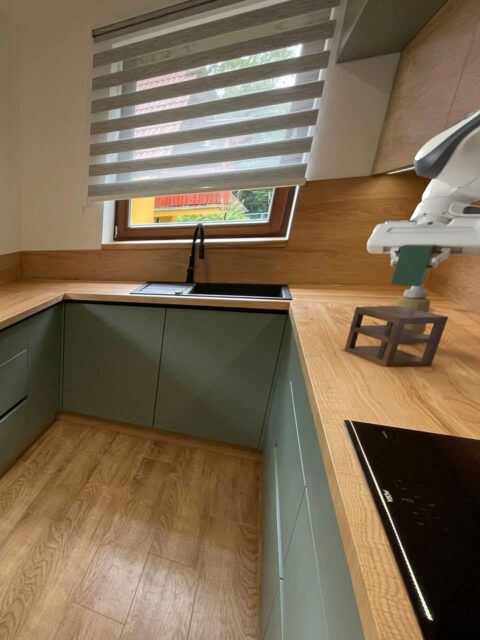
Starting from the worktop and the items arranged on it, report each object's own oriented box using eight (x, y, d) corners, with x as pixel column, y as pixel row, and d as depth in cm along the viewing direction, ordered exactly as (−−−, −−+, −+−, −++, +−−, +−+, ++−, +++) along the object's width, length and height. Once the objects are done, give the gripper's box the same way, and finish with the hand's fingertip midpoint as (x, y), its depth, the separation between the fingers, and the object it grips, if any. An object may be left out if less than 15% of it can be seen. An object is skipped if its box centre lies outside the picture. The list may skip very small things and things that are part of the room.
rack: (384, 349, 115) (397, 305, 111) (431, 366, 102) (448, 316, 98) (344, 350, 117) (355, 306, 112) (385, 366, 104) (400, 318, 99)
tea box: (395, 282, 106) (407, 244, 103) (424, 283, 102) (436, 244, 99) (390, 284, 103) (402, 245, 100) (419, 286, 100) (432, 246, 96)
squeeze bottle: (393, 336, 126) (412, 274, 120) (427, 342, 119) (450, 277, 113) (374, 339, 124) (392, 276, 118) (408, 346, 117) (430, 279, 111)
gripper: (378, 212, 109) (355, 255, 107) (502, 207, 93) (478, 258, 91) (378, 230, 113) (356, 271, 111) (497, 228, 97) (474, 277, 95)
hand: (412, 265), depth 101 cm, fingers closed on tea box, 5 cm apart
